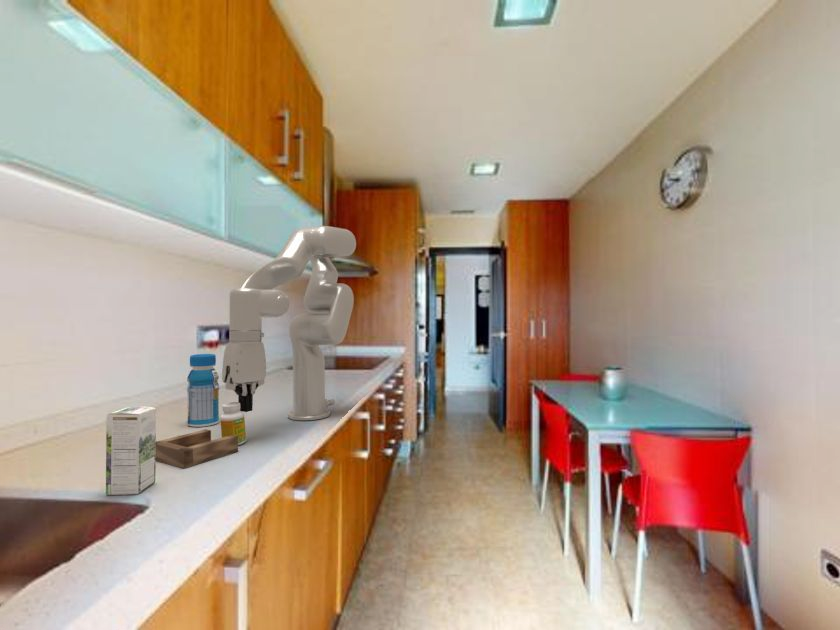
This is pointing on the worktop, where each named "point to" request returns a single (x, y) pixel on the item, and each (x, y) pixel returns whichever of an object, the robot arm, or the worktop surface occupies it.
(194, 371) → the beverage bottle
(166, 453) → the tray
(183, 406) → the worktop surface
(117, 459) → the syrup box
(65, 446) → the worktop surface
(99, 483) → the worktop surface
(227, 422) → the supplement bottle
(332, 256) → the robot arm
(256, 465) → the worktop surface
